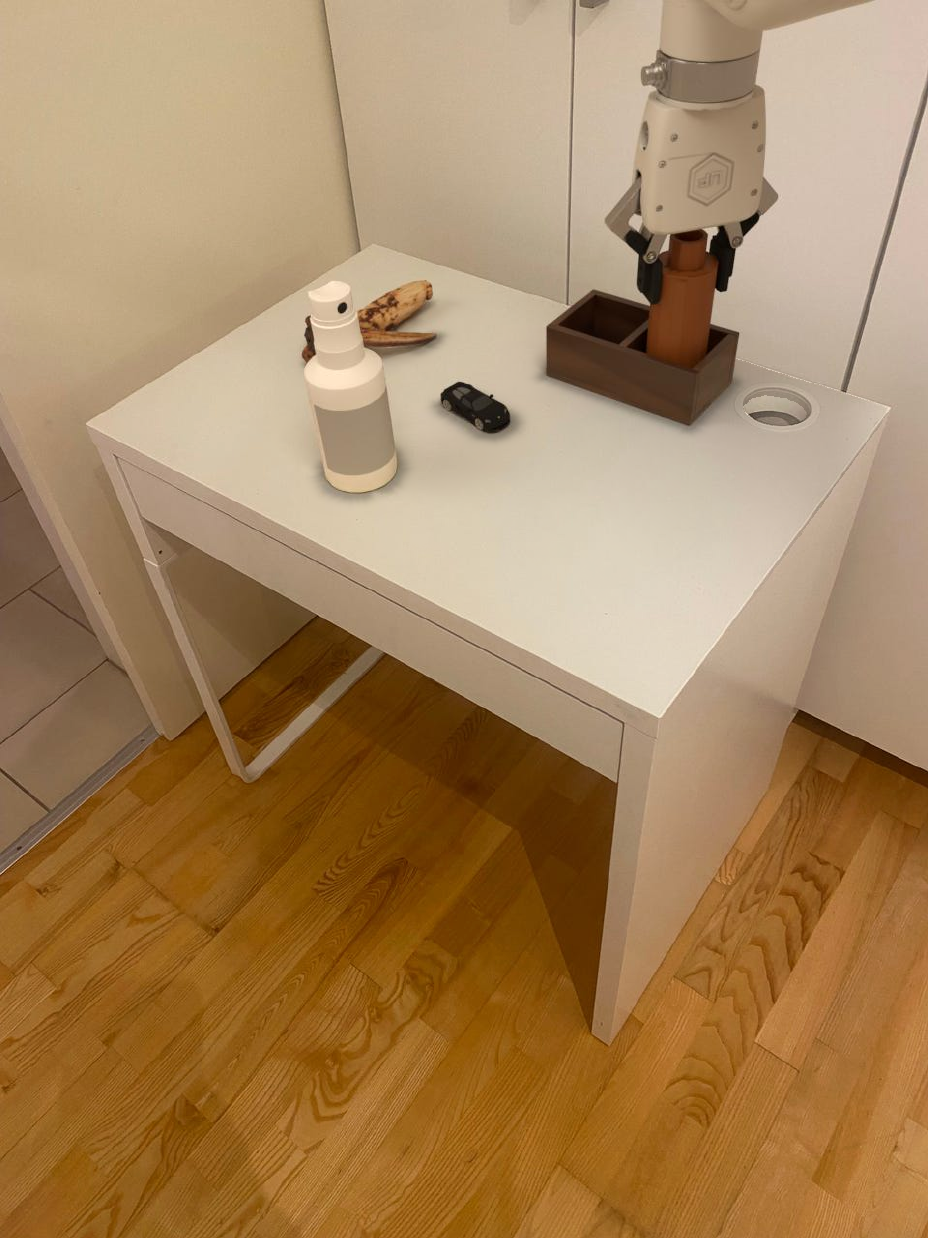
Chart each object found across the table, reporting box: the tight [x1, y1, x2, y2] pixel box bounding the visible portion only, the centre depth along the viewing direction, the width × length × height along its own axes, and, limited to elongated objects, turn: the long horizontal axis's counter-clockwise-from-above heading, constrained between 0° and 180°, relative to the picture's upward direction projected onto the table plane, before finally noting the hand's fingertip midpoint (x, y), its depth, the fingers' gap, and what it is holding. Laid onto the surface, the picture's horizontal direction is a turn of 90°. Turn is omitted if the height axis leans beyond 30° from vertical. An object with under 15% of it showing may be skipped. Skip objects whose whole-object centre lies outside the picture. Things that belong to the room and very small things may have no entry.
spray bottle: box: [303, 280, 399, 493], centre depth 82 cm, size 7×7×18 cm
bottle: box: [646, 229, 719, 368], centre depth 88 cm, size 6×6×14 cm
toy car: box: [439, 381, 511, 433], centre depth 93 cm, size 8×4×2 cm, turn 42°
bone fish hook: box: [301, 279, 438, 364], centre depth 103 cm, size 9×5×18 cm
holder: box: [545, 289, 740, 427], centre depth 94 cm, size 9×16×6 cm, turn 52°
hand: (683, 289), depth 87 cm, fingers closed on bottle, 5 cm apart
